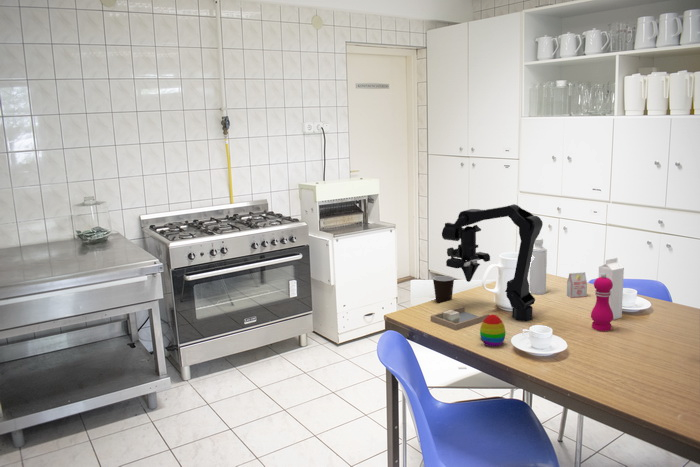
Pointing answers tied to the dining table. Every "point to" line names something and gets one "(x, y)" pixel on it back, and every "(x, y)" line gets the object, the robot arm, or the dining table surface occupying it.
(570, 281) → the printed paper bag
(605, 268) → the milk
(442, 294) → the coffee mug
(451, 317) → the block
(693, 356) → the dining table surface
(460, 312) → the brown rectangular tray
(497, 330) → the decorative egg
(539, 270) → the grey bottle
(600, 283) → the pepper mill
